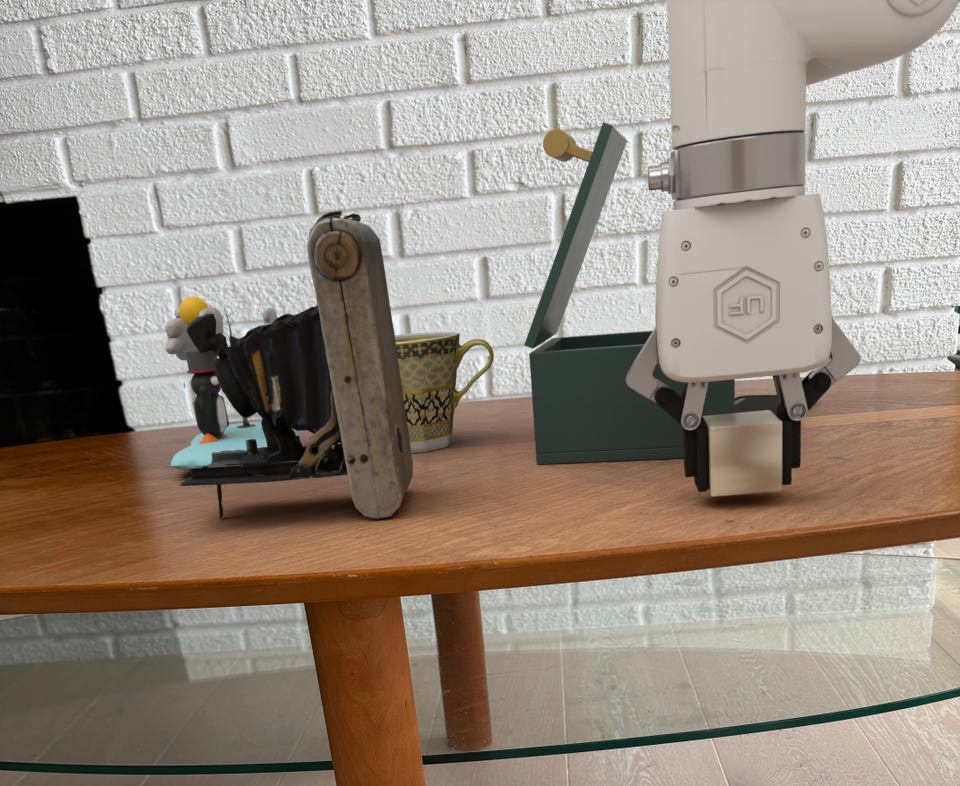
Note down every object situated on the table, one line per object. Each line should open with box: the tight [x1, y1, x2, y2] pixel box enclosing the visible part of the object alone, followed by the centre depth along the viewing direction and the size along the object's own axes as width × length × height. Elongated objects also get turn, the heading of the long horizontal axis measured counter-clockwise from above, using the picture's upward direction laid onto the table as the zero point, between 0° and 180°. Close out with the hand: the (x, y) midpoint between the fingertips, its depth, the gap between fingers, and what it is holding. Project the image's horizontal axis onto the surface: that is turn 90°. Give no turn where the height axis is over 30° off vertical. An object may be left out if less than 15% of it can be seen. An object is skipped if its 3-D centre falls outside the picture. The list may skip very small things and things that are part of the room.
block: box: [703, 410, 783, 498], centre depth 65 cm, size 4×4×4 cm
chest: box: [528, 330, 736, 466], centre depth 85 cm, size 16×13×9 cm
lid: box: [524, 122, 628, 349], centre depth 82 cm, size 17×13×5 cm
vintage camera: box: [179, 210, 414, 520], centre depth 71 cm, size 10×16×20 cm, turn 88°
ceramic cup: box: [395, 331, 495, 454], centre depth 94 cm, size 13×10×10 cm
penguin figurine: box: [164, 296, 298, 472], centre depth 95 cm, size 20×11×15 cm, turn 1°
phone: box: [735, 394, 779, 415], centre depth 96 cm, size 8×1×15 cm
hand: (741, 480), depth 65 cm, fingers closed on block, 4 cm apart
